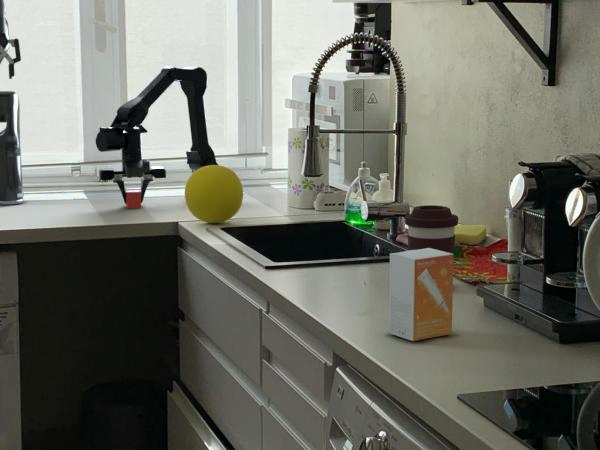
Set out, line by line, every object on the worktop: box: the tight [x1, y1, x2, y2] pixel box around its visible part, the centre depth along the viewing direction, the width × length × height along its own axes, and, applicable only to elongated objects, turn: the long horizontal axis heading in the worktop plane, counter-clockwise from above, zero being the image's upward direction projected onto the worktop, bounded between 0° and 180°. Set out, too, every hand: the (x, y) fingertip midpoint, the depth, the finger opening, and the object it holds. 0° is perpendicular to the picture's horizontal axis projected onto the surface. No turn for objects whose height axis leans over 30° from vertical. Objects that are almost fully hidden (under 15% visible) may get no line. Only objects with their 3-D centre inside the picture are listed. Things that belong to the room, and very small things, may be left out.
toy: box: [184, 164, 244, 224], centre depth 272 cm, size 15×15×15 cm
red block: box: [125, 189, 142, 209], centre depth 302 cm, size 4×5×5 cm
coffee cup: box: [404, 204, 459, 255], centre depth 197 cm, size 10×10×15 cm
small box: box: [388, 248, 455, 342], centre depth 164 cm, size 8×6×13 cm
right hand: (133, 203), depth 302 cm, fingers closed on red block, 4 cm apart
